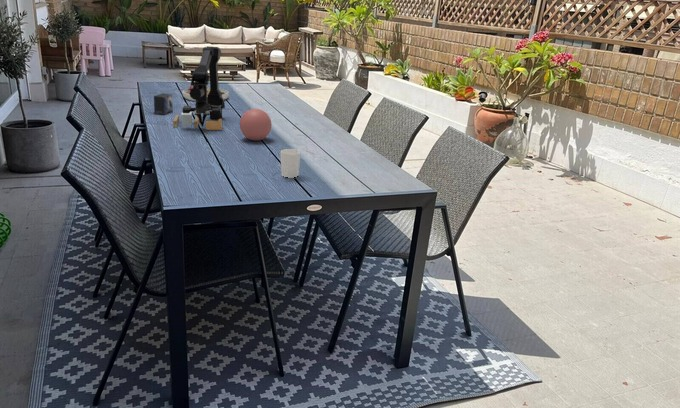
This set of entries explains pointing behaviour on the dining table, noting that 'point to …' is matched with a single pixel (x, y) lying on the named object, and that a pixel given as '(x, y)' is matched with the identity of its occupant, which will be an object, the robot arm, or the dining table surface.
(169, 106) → the small box
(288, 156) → the white cup
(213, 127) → the bar
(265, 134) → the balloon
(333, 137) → the dining table surface
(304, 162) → the dining table surface
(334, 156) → the dining table surface
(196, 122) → the channel
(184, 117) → the plug block
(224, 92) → the bowl
